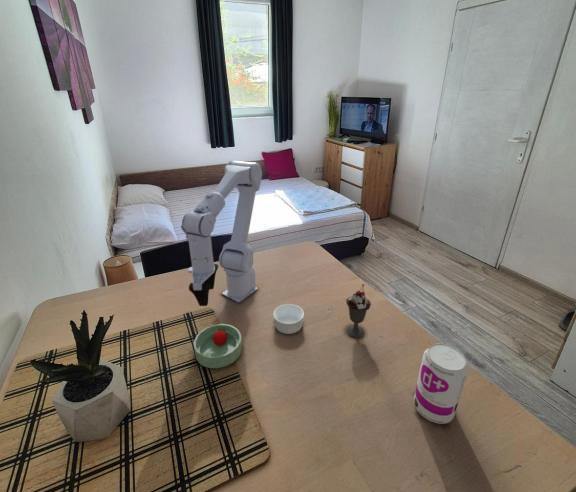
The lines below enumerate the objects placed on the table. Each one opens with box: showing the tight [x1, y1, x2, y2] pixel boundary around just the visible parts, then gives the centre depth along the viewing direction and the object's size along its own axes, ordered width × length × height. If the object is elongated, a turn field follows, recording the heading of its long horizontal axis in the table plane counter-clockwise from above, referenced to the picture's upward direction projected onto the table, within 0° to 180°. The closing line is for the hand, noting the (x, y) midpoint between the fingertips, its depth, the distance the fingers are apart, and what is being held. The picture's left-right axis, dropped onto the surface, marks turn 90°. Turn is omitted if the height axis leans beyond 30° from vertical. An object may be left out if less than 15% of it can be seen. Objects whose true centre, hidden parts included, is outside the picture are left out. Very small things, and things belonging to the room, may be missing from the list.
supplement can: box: [413, 342, 469, 425], centre depth 68 cm, size 8×8×15 cm
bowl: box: [193, 323, 243, 369], centre depth 85 cm, size 12×12×4 cm
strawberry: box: [213, 329, 227, 346], centre depth 87 cm, size 4×4×4 cm
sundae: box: [345, 283, 372, 339], centre depth 90 cm, size 7×7×15 cm
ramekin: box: [272, 303, 305, 335], centre depth 94 cm, size 9×9×4 cm
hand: (206, 296), depth 92 cm, fingers open, 7 cm apart
